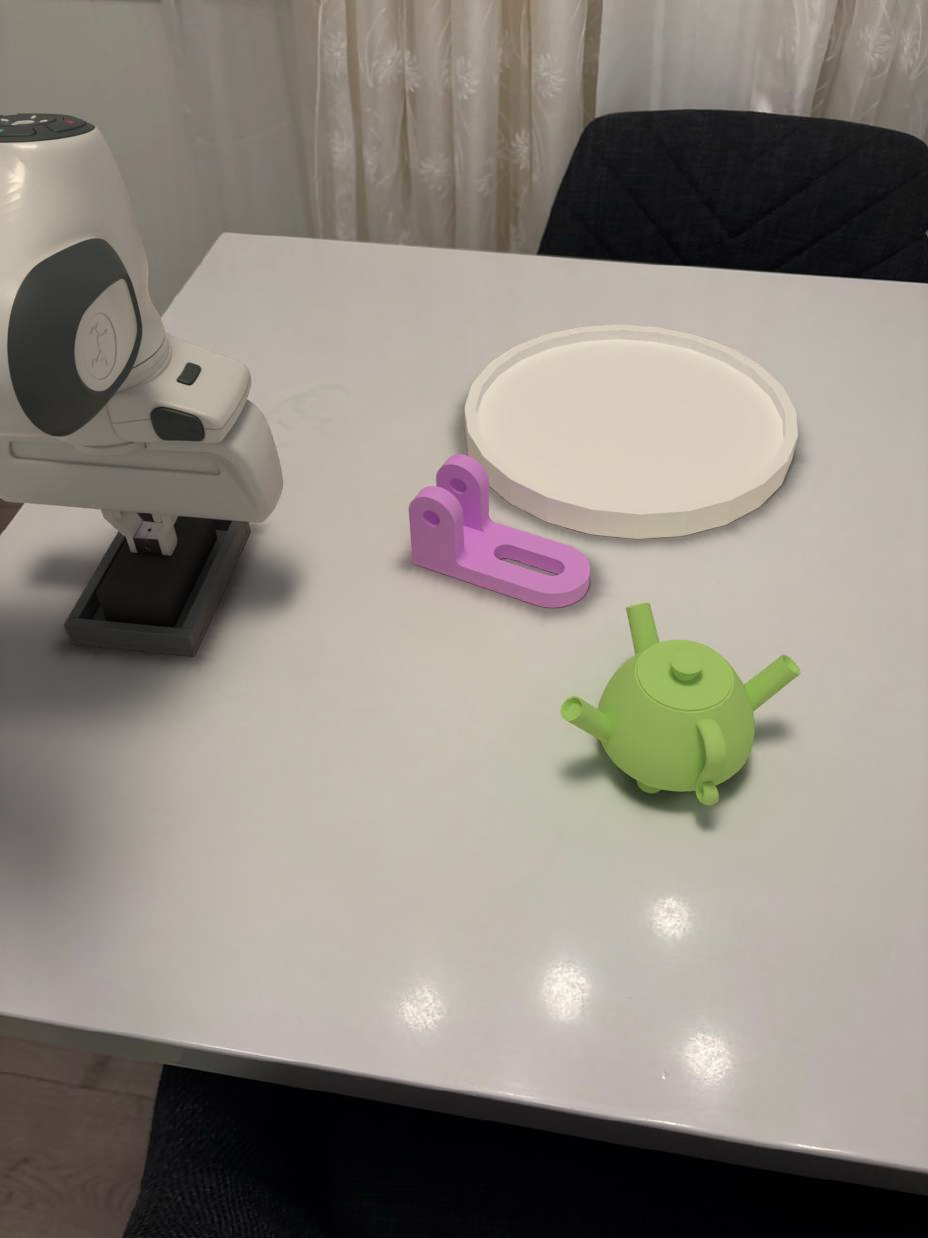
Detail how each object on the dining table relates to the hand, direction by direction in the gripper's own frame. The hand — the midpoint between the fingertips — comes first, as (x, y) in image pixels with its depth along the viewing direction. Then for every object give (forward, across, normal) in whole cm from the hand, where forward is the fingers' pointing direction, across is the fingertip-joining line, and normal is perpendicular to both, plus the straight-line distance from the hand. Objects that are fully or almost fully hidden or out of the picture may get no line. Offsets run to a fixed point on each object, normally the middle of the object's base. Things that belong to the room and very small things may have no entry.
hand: (155, 548), depth 75 cm
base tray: (+4, 0, 0) cm, 4 cm away
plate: (+4, +33, +24) cm, 41 cm away
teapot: (+4, +37, -10) cm, 38 cm away
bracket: (+4, +25, +5) cm, 26 cm away
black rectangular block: (+3, 0, 0) cm, 3 cm away
